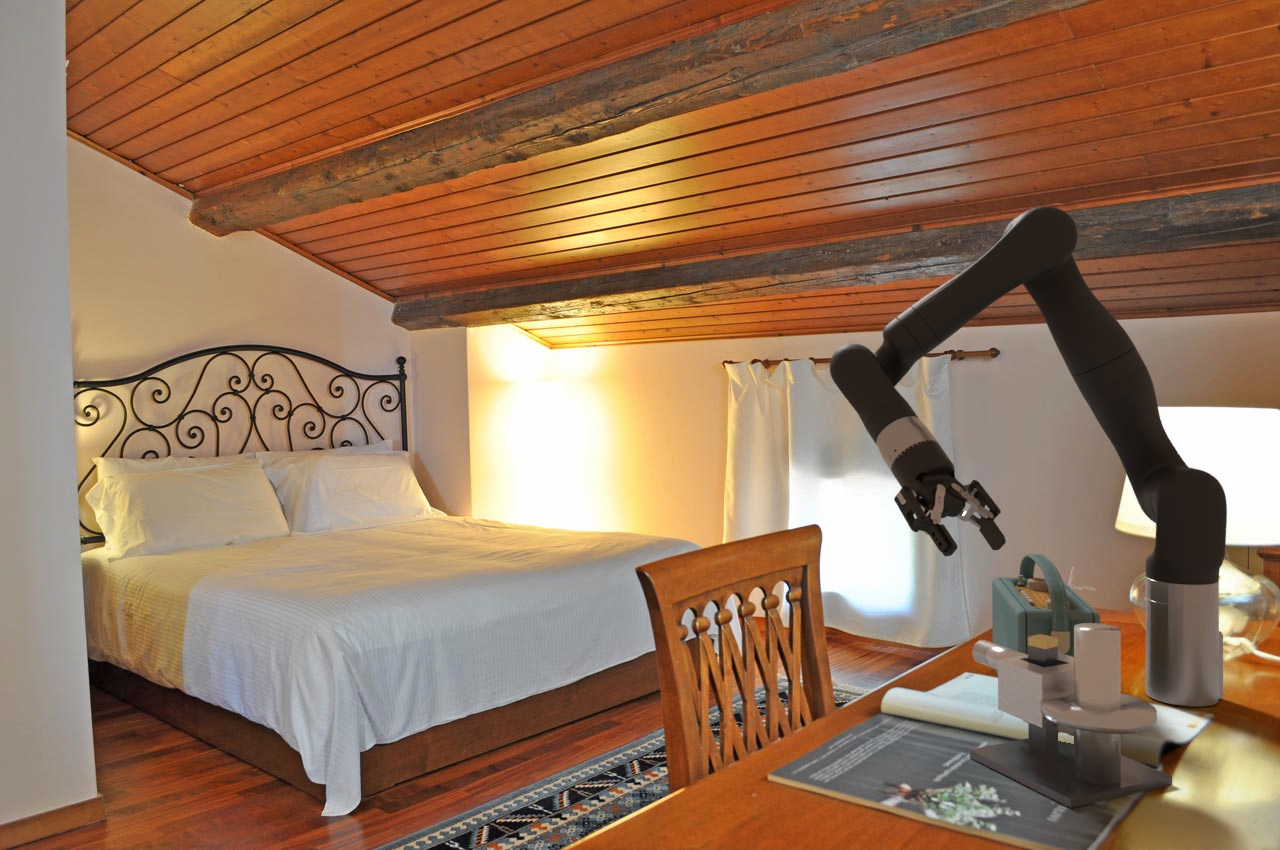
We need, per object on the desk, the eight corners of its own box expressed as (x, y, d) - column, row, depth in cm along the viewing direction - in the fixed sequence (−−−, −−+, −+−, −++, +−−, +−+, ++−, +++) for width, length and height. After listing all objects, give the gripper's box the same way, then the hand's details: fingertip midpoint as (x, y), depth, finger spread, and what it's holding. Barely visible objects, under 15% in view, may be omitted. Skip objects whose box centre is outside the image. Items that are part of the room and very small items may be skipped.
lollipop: (1088, 638, 176) (1087, 571, 176) (1035, 629, 183) (1035, 564, 182) (1101, 631, 180) (1101, 566, 180) (1049, 623, 187) (1049, 560, 187)
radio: (1104, 724, 132) (1104, 576, 132) (1019, 721, 135) (1018, 574, 134) (1062, 669, 158) (1062, 544, 157) (991, 667, 160) (990, 544, 159)
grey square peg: (1040, 746, 122) (1040, 633, 122) (1058, 752, 120) (1057, 637, 120) (1028, 750, 121) (1028, 637, 120) (1046, 756, 119) (1045, 641, 118)
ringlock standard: (1026, 723, 133) (1026, 590, 133) (1191, 793, 110) (1192, 632, 109) (935, 740, 128) (934, 601, 127) (1089, 817, 105) (1088, 648, 104)
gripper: (887, 440, 133) (950, 536, 123) (966, 436, 139) (1032, 527, 130) (861, 477, 138) (920, 572, 128) (938, 471, 144) (1000, 561, 135)
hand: (976, 549), depth 129 cm, fingers open, 8 cm apart
